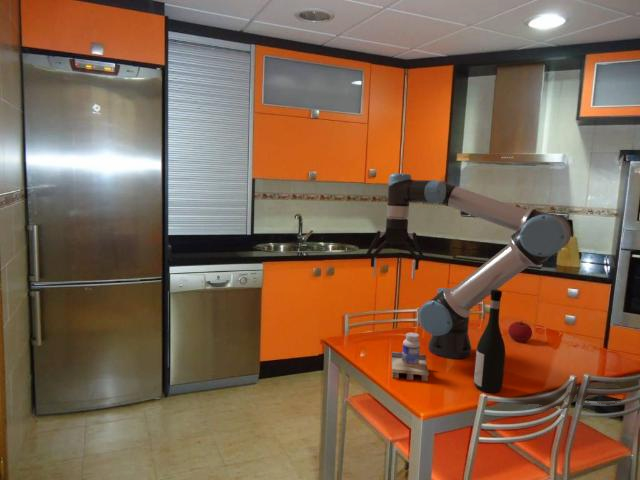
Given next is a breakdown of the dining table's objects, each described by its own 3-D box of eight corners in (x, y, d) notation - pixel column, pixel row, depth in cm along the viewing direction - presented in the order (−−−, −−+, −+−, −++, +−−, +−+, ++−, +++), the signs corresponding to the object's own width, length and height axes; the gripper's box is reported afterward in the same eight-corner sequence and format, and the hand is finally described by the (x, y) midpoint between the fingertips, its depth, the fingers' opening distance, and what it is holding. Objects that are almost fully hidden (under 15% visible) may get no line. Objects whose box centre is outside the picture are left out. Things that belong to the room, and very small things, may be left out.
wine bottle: (472, 390, 138) (481, 291, 134) (474, 380, 145) (482, 286, 141) (502, 396, 135) (511, 294, 131) (501, 385, 142) (510, 289, 139)
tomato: (532, 340, 188) (534, 320, 187) (529, 345, 180) (531, 325, 179) (509, 335, 192) (511, 316, 191) (505, 341, 185) (507, 321, 184)
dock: (424, 367, 153) (425, 354, 153) (428, 381, 143) (429, 367, 142) (391, 364, 155) (392, 351, 154) (391, 378, 144) (392, 364, 143)
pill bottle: (399, 360, 151) (401, 331, 150) (416, 360, 151) (418, 331, 150) (404, 367, 145) (406, 337, 144) (421, 367, 146) (423, 337, 145)
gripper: (432, 219, 165) (428, 277, 168) (362, 215, 169) (359, 273, 171) (434, 220, 158) (430, 281, 161) (361, 216, 161) (358, 276, 164)
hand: (393, 277), depth 166 cm, fingers open, 13 cm apart
